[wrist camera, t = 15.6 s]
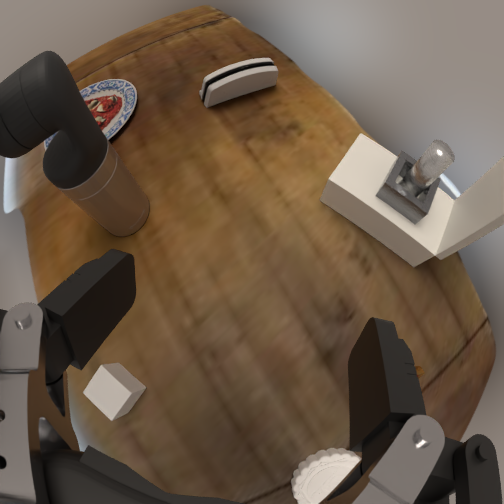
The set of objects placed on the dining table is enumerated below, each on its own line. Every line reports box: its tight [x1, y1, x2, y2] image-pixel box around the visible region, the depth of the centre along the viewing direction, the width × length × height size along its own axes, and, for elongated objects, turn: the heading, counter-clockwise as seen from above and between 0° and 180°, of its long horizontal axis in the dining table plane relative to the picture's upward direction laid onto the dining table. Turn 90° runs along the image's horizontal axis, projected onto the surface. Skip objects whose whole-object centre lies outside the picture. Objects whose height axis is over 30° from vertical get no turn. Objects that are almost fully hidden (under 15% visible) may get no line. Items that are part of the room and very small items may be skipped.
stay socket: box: [375, 151, 440, 224], centre depth 38 cm, size 8×8×4 cm
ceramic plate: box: [44, 79, 137, 150], centre depth 54 cm, size 26×26×3 cm
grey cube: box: [83, 363, 147, 421], centre depth 36 cm, size 6×6×6 cm
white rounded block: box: [199, 58, 278, 108], centre depth 52 cm, size 17×5×10 cm, turn 116°
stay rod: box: [398, 140, 454, 198], centre depth 34 cm, size 4×4×12 cm
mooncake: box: [291, 448, 362, 504], centre depth 32 cm, size 12×12×4 cm
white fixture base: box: [320, 134, 504, 267], centre depth 34 cm, size 21×13×27 cm, turn 54°
